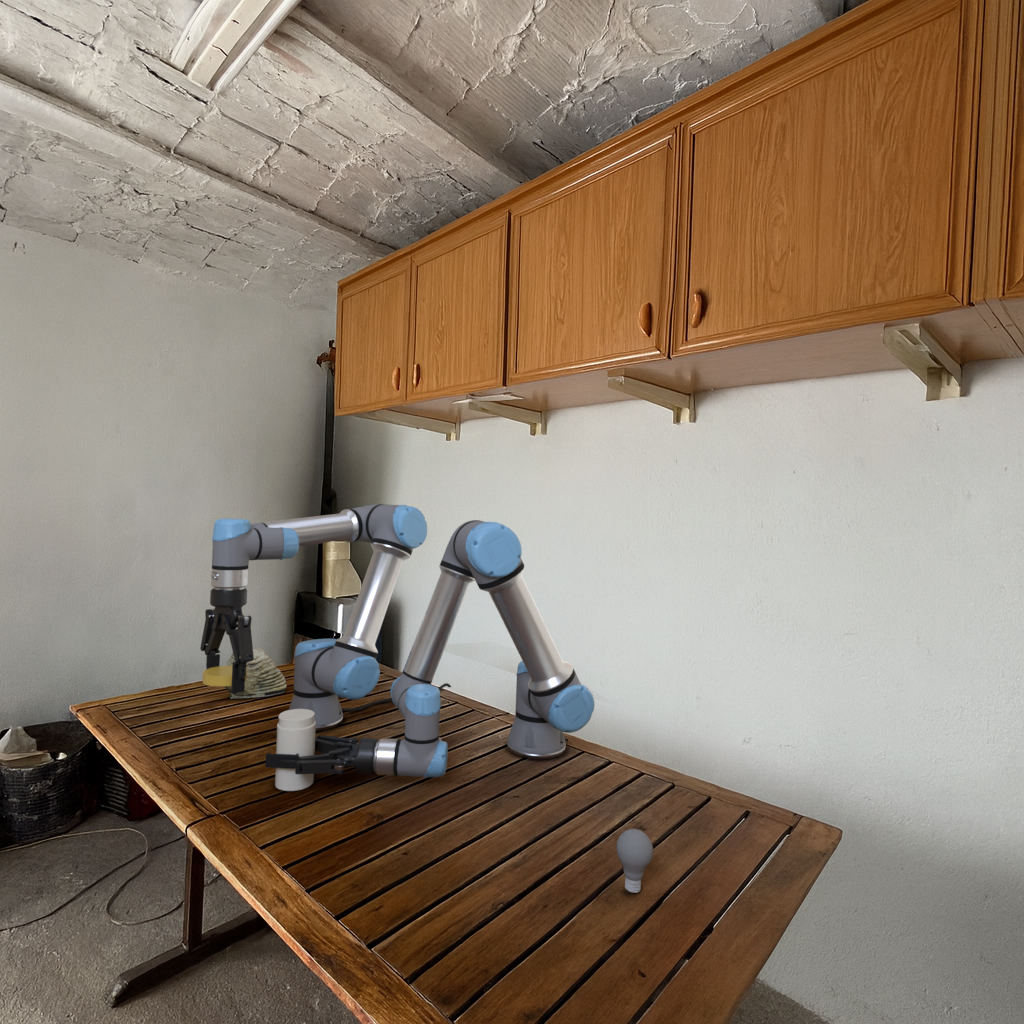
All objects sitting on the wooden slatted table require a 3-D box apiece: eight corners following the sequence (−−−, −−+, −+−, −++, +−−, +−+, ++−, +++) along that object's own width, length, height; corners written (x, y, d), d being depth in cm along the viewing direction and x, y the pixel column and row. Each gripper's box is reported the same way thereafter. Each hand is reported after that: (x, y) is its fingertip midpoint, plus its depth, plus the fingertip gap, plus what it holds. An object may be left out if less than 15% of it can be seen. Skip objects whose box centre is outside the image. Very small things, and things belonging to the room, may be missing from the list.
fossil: (218, 695, 195) (220, 647, 195) (278, 685, 208) (279, 640, 207) (228, 703, 189) (230, 653, 188) (289, 692, 201) (290, 645, 201)
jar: (299, 771, 145) (302, 705, 145) (321, 782, 140) (323, 714, 140) (267, 782, 139) (270, 714, 139) (288, 794, 134) (291, 723, 134)
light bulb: (610, 879, 108) (613, 822, 108) (644, 879, 109) (647, 822, 109) (619, 902, 102) (622, 840, 102) (655, 901, 103) (658, 840, 103)
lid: (220, 689, 136) (220, 678, 136) (193, 681, 140) (193, 671, 140) (255, 679, 144) (256, 670, 143) (228, 673, 148) (229, 663, 148)
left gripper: (185, 583, 144) (181, 682, 145) (243, 595, 132) (238, 702, 133) (216, 581, 151) (212, 675, 151) (274, 591, 139) (269, 694, 139)
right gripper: (365, 795, 129) (254, 790, 129) (385, 754, 150) (290, 750, 150) (366, 759, 129) (255, 754, 129) (387, 722, 150) (291, 718, 150)
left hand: (224, 687), depth 142 cm, fingers closed on lid, 9 cm apart
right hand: (274, 752), depth 140 cm, fingers closed on jar, 8 cm apart
